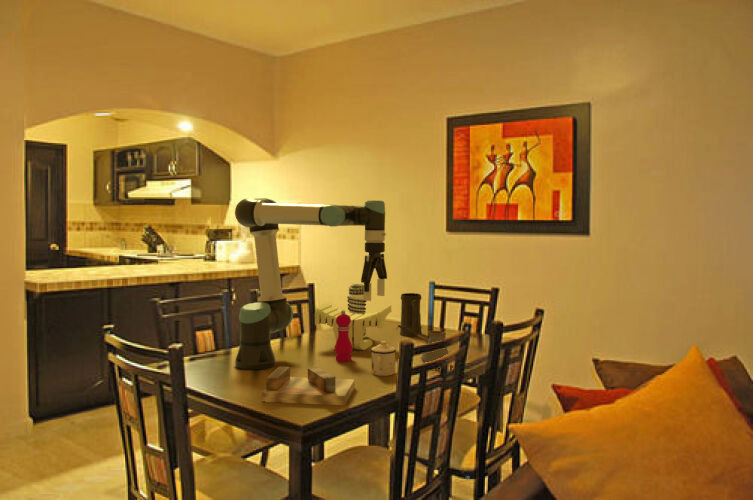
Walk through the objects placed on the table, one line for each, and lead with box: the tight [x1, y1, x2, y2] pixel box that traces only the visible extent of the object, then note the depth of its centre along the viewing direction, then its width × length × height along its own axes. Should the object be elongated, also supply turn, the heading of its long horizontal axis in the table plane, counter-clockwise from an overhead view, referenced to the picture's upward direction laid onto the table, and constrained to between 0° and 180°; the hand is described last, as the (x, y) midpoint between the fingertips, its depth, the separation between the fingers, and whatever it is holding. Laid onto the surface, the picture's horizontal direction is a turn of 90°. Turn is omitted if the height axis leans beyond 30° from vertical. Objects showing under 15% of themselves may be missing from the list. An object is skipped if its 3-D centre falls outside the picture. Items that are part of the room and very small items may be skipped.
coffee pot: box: [396, 324, 450, 364], centre depth 230 cm, size 21×12×15 cm, turn 75°
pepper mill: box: [334, 309, 353, 363], centre depth 237 cm, size 7×7×20 cm
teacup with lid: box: [370, 340, 397, 377], centre depth 216 cm, size 12×9×12 cm
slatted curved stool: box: [314, 302, 392, 351], centre depth 260 cm, size 30×16×18 cm, turn 74°
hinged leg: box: [307, 366, 336, 393], centre depth 190 cm, size 16×4×4 cm, turn 27°
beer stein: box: [399, 292, 423, 337], centre depth 285 cm, size 15×11×20 cm
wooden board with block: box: [261, 366, 356, 406], centre depth 191 cm, size 26×18×7 cm
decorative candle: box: [346, 283, 368, 339], centre depth 281 cm, size 9×9×25 cm
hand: (374, 298), depth 223 cm, fingers open, 13 cm apart
